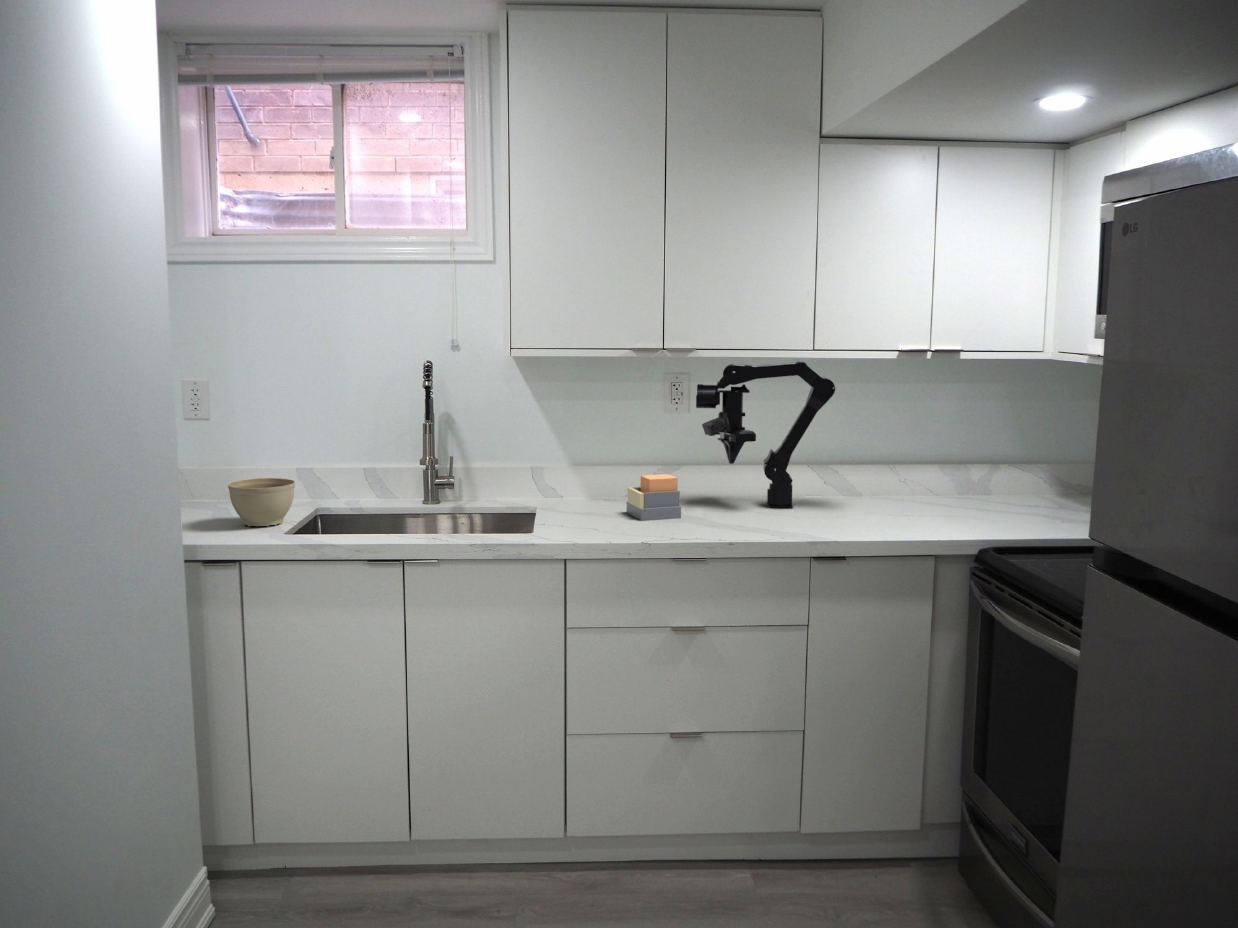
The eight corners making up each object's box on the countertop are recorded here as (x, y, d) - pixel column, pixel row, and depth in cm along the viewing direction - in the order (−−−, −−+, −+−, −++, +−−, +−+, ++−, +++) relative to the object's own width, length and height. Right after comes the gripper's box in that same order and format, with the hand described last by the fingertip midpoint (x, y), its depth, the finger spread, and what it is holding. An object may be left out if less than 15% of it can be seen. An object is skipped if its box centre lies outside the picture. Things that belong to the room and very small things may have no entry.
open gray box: (664, 509, 259) (664, 484, 258) (680, 517, 248) (681, 491, 247) (626, 512, 256) (626, 486, 255) (641, 520, 244) (641, 494, 243)
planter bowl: (257, 533, 230) (254, 490, 228) (217, 526, 238) (214, 484, 237) (310, 522, 243) (308, 481, 241) (270, 515, 252) (268, 475, 250)
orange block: (667, 499, 256) (667, 474, 255) (677, 503, 250) (677, 477, 249) (640, 500, 254) (640, 475, 253) (649, 505, 247) (649, 479, 246)
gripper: (692, 406, 268) (692, 460, 270) (720, 412, 250) (719, 469, 253) (728, 405, 271) (727, 458, 274) (757, 411, 254) (756, 467, 256)
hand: (731, 463), depth 264 cm, fingers closed
